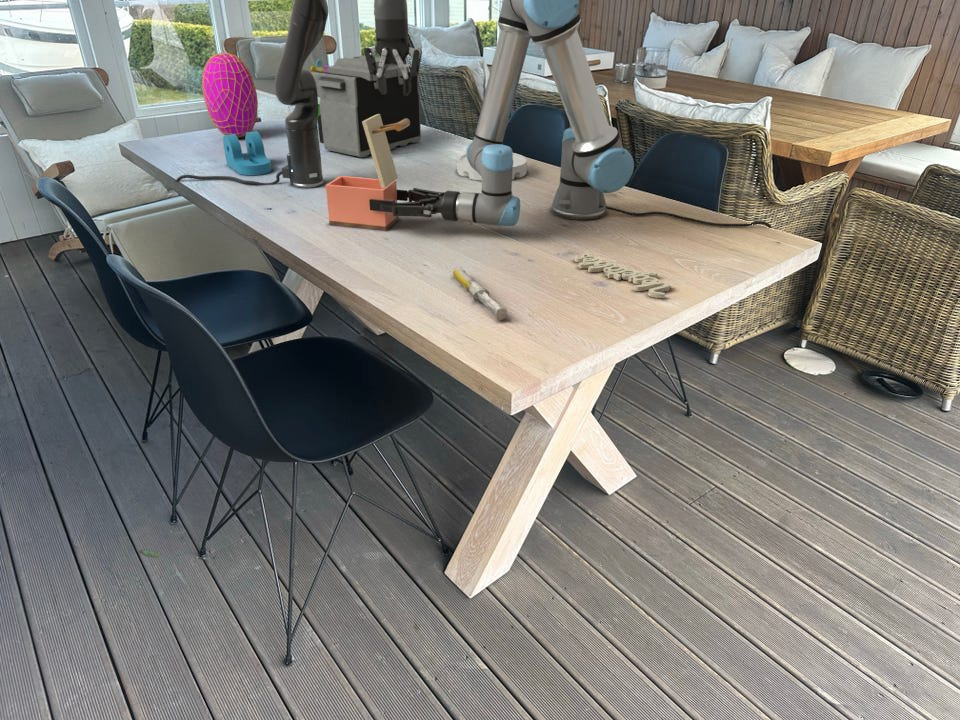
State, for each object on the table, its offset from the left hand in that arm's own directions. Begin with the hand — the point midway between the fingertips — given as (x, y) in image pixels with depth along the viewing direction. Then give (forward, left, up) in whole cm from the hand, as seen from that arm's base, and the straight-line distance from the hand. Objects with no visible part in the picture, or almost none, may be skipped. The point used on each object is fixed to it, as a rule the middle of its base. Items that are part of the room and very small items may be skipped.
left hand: (394, 94), depth 166 cm
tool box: (-41, +80, -33) cm, 96 cm away
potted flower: (-76, +116, -33) cm, 142 cm away
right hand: (-6, 0, -26) cm, 27 cm away
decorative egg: (-96, +79, -33) cm, 128 cm away
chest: (-11, 0, -33) cm, 35 cm away
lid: (-5, 0, -14) cm, 15 cm away
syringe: (+31, -37, -33) cm, 59 cm away
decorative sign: (+60, -17, -33) cm, 70 cm away
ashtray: (+11, +59, -33) cm, 68 cm away
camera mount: (-67, +39, -33) cm, 85 cm away
